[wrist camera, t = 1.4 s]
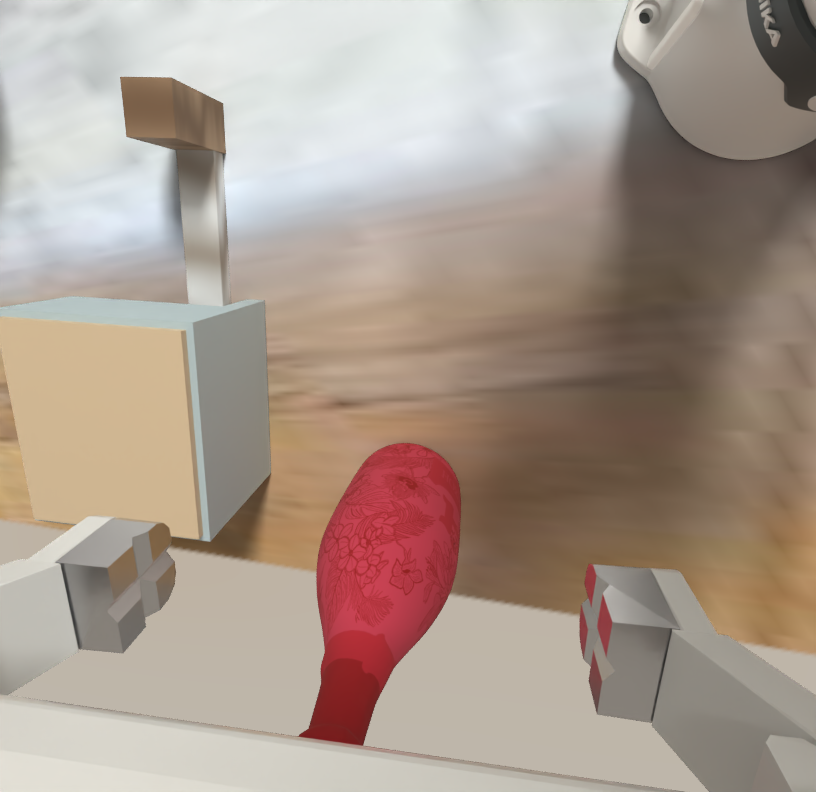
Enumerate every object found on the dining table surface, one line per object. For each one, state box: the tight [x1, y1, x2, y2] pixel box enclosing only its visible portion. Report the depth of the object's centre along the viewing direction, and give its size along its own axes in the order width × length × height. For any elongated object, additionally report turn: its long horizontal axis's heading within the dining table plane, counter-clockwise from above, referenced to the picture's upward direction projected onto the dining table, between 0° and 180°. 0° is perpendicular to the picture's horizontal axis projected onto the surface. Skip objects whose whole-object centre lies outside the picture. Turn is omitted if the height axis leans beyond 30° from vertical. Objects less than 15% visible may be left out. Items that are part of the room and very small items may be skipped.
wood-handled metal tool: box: [120, 77, 231, 306], centre depth 39 cm, size 18×4×7 cm, turn 177°
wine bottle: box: [298, 443, 461, 746], centre depth 33 cm, size 10×10×30 cm
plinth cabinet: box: [0, 296, 271, 542], centre depth 42 cm, size 16×14×12 cm
